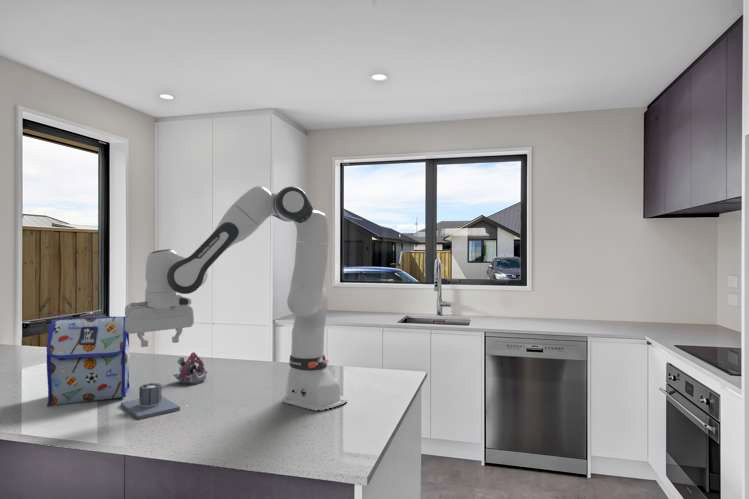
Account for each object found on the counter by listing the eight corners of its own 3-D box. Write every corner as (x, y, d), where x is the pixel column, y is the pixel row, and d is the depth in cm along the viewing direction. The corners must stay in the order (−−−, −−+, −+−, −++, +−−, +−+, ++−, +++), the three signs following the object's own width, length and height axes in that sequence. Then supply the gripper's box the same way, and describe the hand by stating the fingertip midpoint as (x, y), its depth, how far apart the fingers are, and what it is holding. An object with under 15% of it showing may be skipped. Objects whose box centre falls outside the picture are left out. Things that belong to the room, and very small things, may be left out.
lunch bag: (41, 410, 138) (43, 321, 138) (53, 394, 153) (55, 314, 153) (126, 401, 147) (128, 318, 148) (129, 387, 162) (132, 312, 163)
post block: (179, 410, 141) (180, 388, 141) (138, 419, 132) (138, 397, 132) (160, 397, 152) (160, 378, 152) (120, 405, 143) (121, 384, 143)
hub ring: (163, 402, 142) (163, 386, 142) (143, 406, 138) (144, 389, 138) (156, 397, 146) (156, 382, 146) (137, 401, 142) (137, 385, 142)
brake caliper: (196, 381, 164) (180, 352, 167) (176, 396, 167) (161, 368, 170) (217, 373, 174) (202, 346, 177) (198, 388, 178) (184, 361, 180)
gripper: (128, 303, 135) (128, 350, 135) (196, 299, 150) (195, 341, 149) (121, 302, 139) (120, 347, 139) (187, 297, 154) (187, 338, 154)
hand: (160, 344), depth 144 cm, fingers open, 8 cm apart
